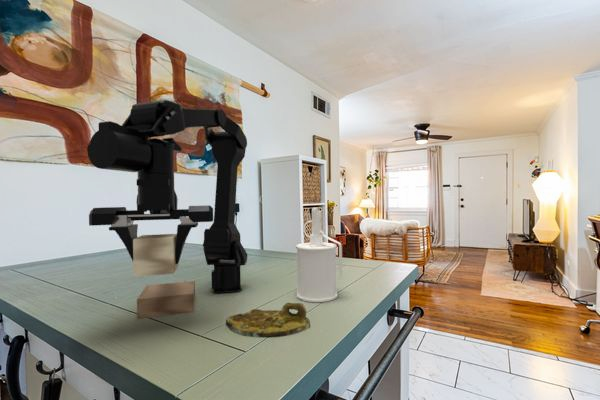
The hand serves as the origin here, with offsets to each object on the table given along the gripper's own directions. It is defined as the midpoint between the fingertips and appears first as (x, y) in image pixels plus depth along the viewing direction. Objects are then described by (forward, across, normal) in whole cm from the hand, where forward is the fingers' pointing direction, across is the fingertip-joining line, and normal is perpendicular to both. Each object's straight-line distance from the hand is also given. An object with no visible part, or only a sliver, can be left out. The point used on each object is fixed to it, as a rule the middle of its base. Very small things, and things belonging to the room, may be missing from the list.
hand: (157, 264), depth 52 cm
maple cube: (+1, 0, 0) cm, 1 cm away
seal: (+12, -18, +4) cm, 22 cm away
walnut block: (+11, 0, -11) cm, 16 cm away
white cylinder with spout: (+11, -32, -8) cm, 35 cm away
